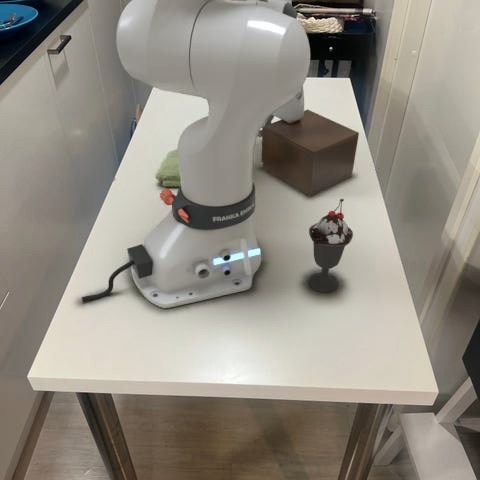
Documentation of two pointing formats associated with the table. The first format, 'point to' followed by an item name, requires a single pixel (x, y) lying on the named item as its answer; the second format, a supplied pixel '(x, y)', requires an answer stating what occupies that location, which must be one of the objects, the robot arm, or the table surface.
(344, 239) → the sundae
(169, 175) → the washcloth
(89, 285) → the table surface
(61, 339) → the table surface
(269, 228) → the table surface
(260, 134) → the drawer
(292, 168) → the cabinet
